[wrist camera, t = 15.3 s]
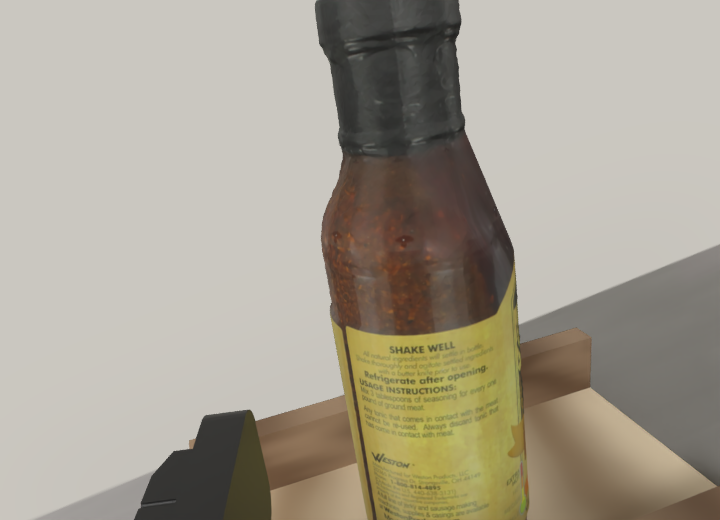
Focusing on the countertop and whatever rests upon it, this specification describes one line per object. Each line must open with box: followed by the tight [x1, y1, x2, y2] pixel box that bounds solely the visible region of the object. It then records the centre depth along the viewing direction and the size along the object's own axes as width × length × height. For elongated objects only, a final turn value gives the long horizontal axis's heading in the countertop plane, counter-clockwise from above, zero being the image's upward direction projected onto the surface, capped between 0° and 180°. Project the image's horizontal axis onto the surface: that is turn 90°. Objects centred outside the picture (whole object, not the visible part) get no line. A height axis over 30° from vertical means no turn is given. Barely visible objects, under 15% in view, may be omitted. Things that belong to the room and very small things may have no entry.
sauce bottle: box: [315, 0, 529, 520], centre depth 20 cm, size 7×6×20 cm
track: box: [189, 328, 720, 520], centre depth 23 cm, size 20×12×4 cm, turn 108°
